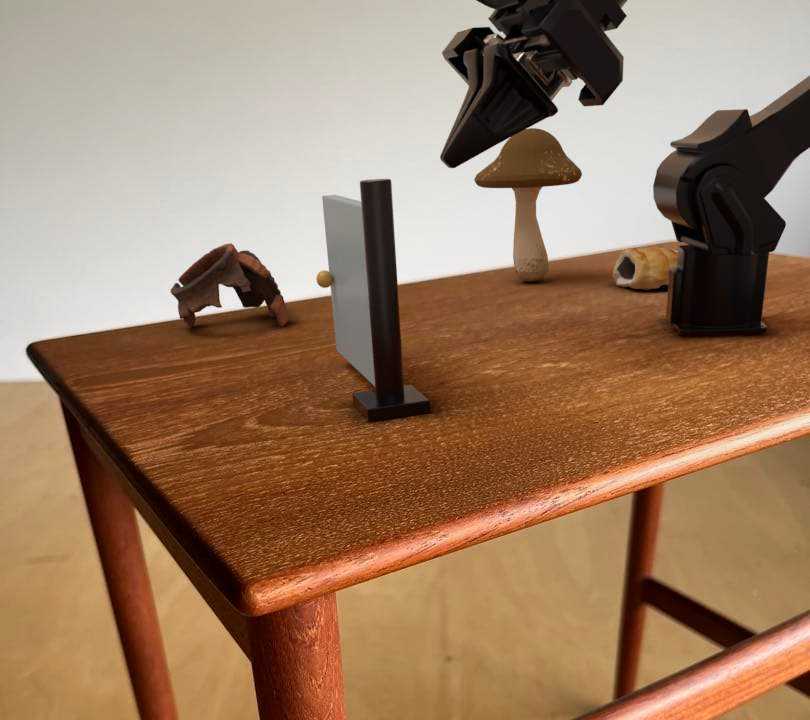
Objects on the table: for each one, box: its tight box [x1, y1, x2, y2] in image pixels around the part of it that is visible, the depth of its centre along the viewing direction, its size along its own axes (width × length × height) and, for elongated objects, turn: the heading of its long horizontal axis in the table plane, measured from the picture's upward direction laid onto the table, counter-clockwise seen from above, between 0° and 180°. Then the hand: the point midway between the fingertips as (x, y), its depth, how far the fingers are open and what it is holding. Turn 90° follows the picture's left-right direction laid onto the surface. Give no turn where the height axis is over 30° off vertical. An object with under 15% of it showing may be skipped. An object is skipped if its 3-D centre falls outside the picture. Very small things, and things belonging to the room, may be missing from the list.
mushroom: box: [473, 127, 583, 283], centre depth 92 cm, size 9×11×15 cm
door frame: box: [351, 178, 431, 422], centre depth 53 cm, size 4×4×14 cm
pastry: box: [612, 245, 678, 291], centre depth 88 cm, size 9×7×4 cm
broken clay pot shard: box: [170, 243, 290, 328], centre depth 83 cm, size 12×10×8 cm
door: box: [315, 194, 375, 387], centre depth 59 cm, size 12×2×11 cm, turn 17°
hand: (445, 163), depth 62 cm, fingers closed
